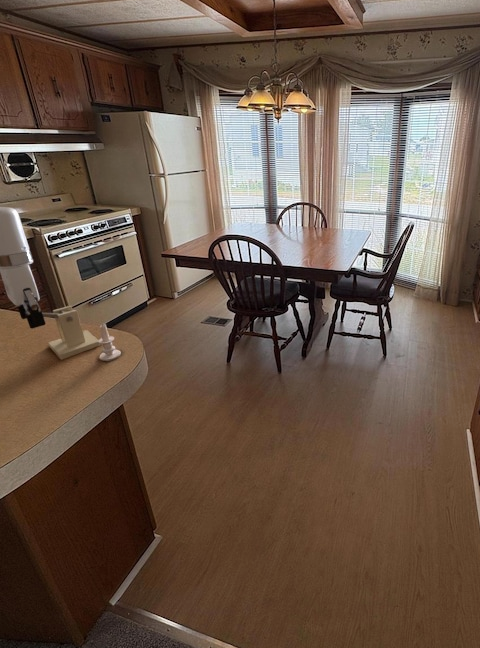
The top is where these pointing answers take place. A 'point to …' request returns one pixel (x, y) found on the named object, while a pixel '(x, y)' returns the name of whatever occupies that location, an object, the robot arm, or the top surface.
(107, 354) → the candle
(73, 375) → the top surface
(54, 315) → the switch lever
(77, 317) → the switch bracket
